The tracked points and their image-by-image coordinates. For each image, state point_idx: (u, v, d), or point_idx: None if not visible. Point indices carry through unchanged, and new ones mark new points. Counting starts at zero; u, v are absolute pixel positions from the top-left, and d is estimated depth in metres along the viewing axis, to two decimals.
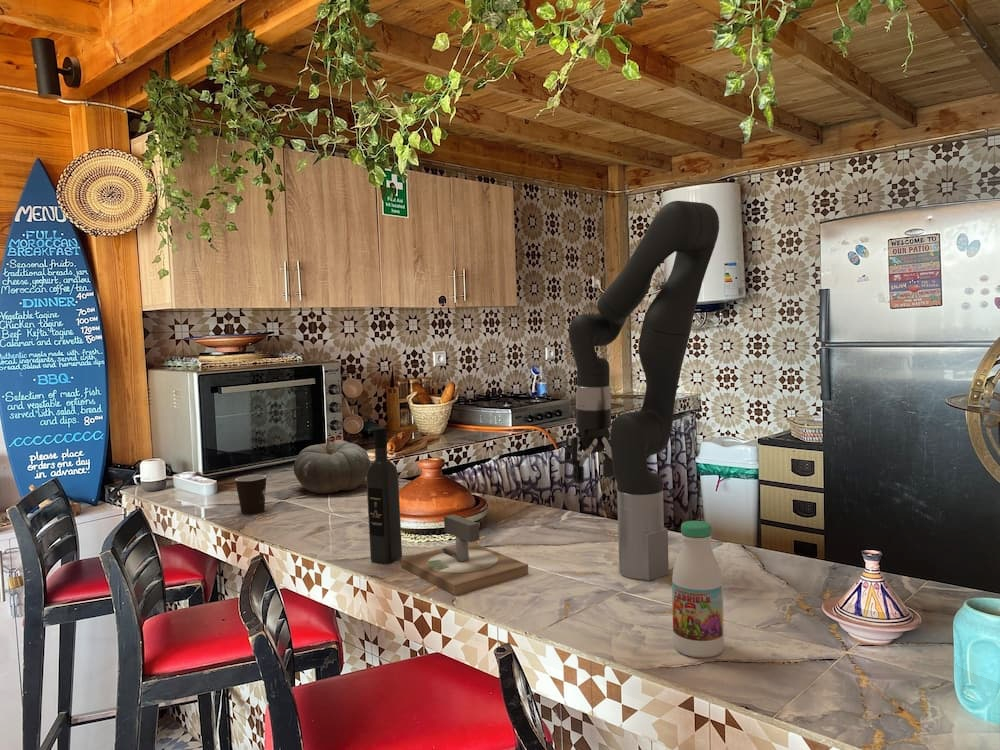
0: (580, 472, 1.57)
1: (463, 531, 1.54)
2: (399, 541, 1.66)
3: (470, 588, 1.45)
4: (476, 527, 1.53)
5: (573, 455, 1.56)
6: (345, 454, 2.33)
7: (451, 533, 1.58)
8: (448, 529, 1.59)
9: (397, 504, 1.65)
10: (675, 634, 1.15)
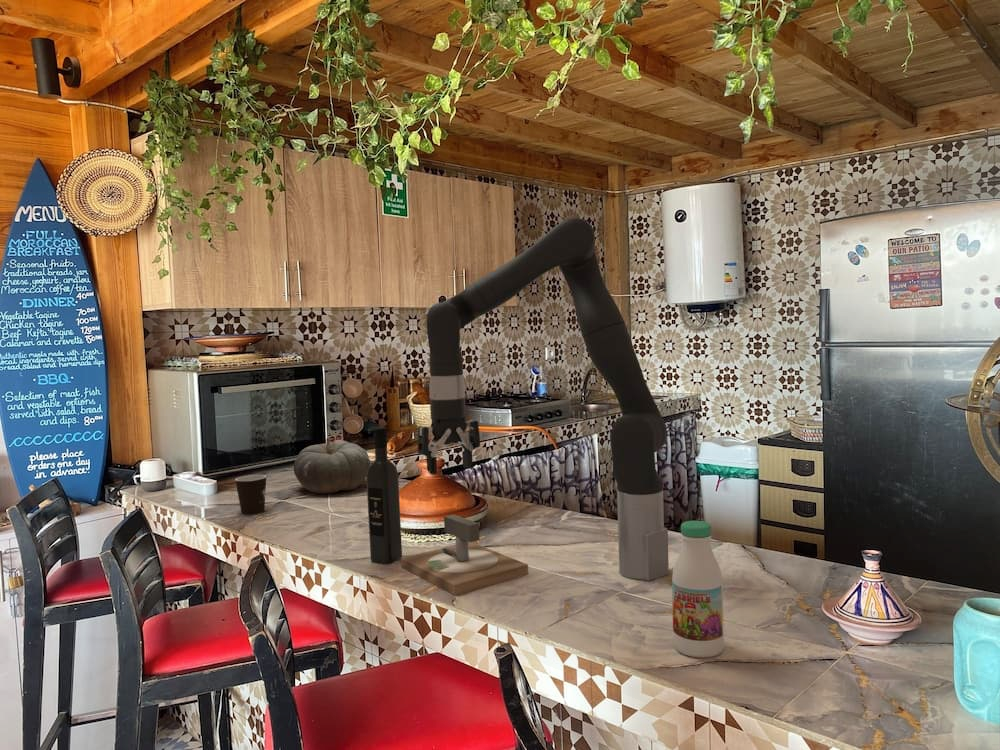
0: (433, 462, 1.55)
1: (463, 531, 1.54)
2: (399, 541, 1.66)
3: (470, 588, 1.45)
4: (476, 527, 1.53)
5: (424, 445, 1.53)
6: (345, 454, 2.33)
7: (451, 533, 1.58)
8: (448, 529, 1.59)
9: (397, 504, 1.65)
10: (675, 634, 1.15)
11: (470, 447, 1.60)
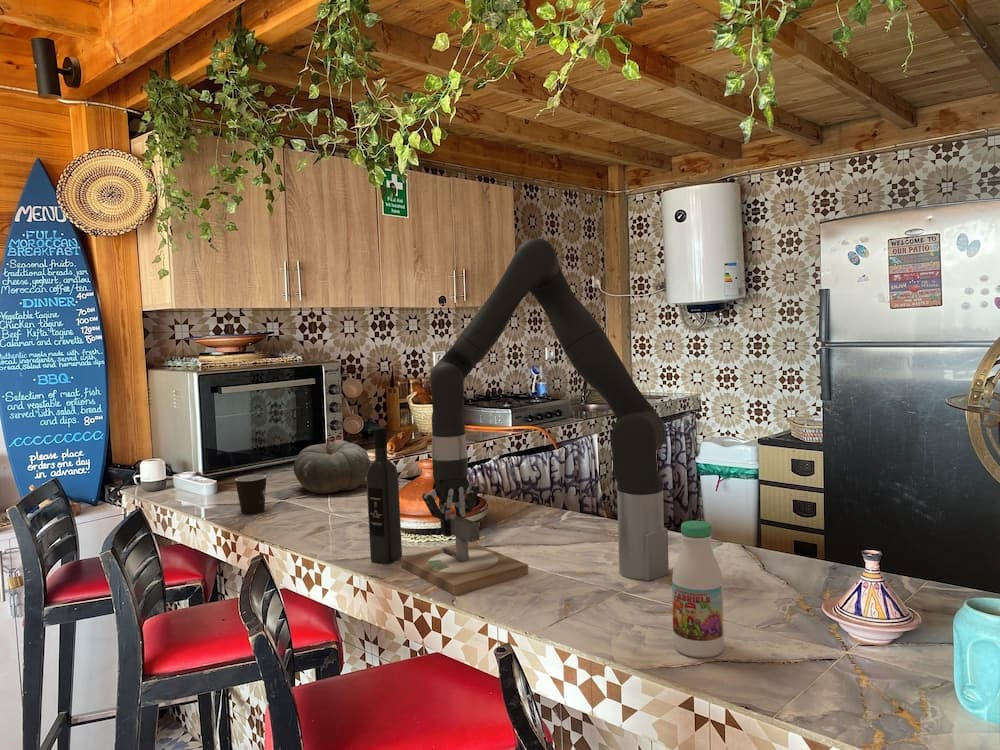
0: (447, 525, 1.57)
1: (463, 531, 1.54)
2: (399, 541, 1.66)
3: (470, 588, 1.45)
4: (476, 527, 1.53)
5: (435, 511, 1.55)
6: (345, 454, 2.33)
7: (451, 533, 1.58)
8: None
9: (397, 504, 1.65)
10: (675, 634, 1.15)
11: (462, 512, 1.59)
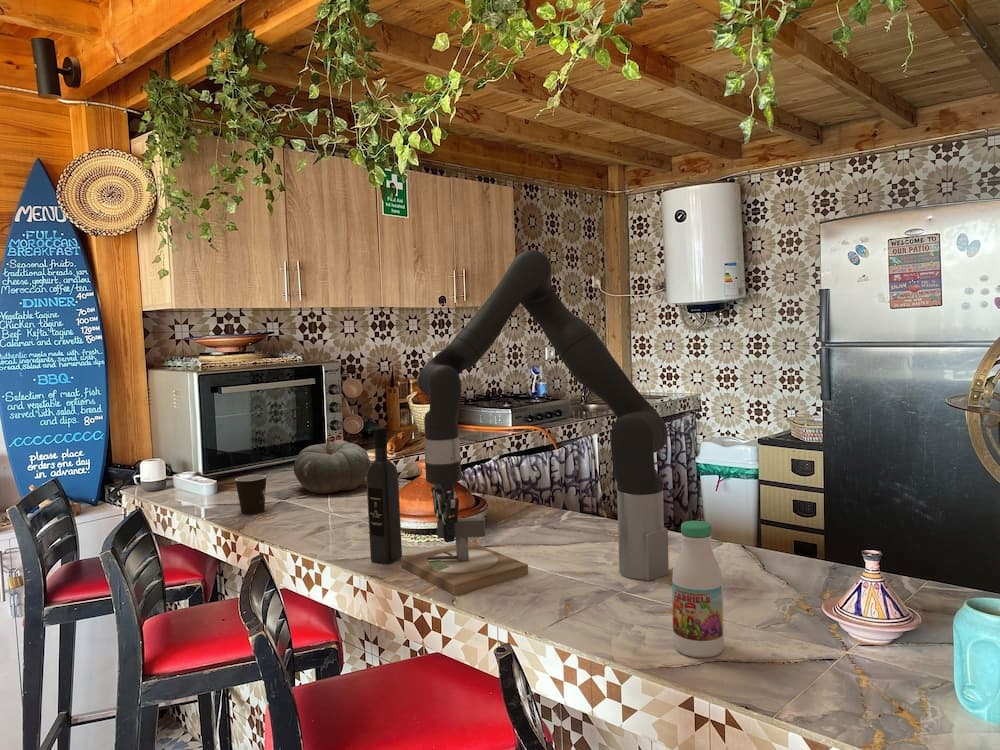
0: (453, 529, 1.54)
1: (473, 528, 1.55)
2: (399, 541, 1.66)
3: (470, 588, 1.45)
4: None
5: None
6: (345, 454, 2.33)
7: None
8: None
9: (397, 504, 1.65)
10: (675, 634, 1.15)
11: None
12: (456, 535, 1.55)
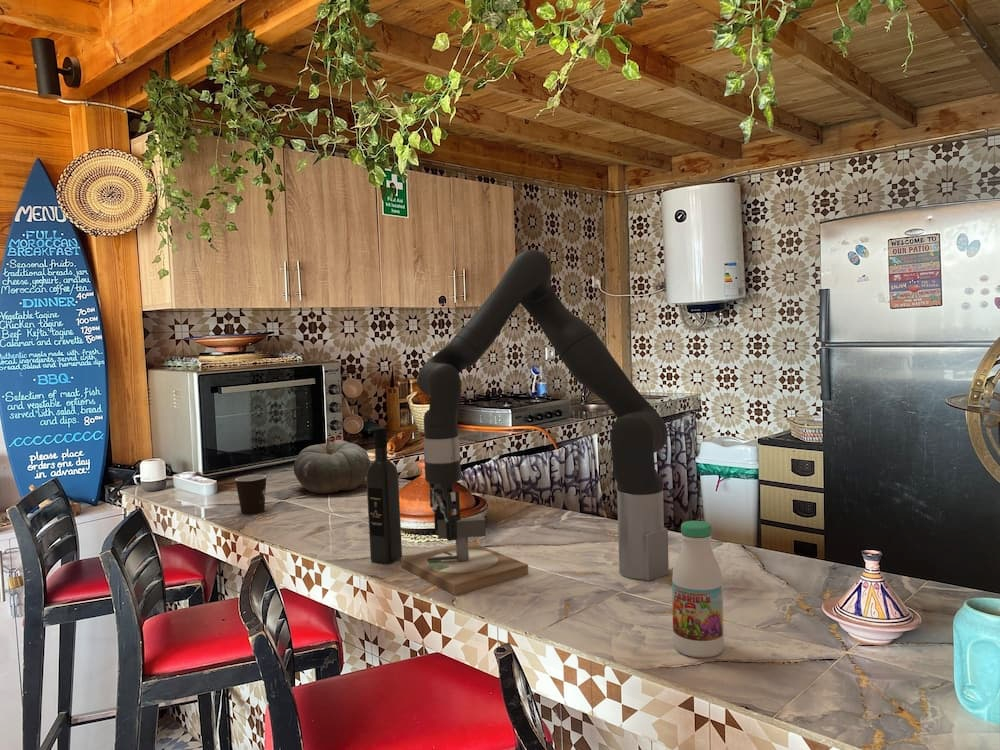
0: (455, 527, 1.51)
1: (474, 528, 1.55)
2: (399, 541, 1.66)
3: (470, 588, 1.45)
4: None
5: (459, 510, 1.49)
6: (345, 454, 2.33)
7: None
8: (445, 534, 1.55)
9: (397, 504, 1.65)
10: (675, 634, 1.15)
11: None
12: None
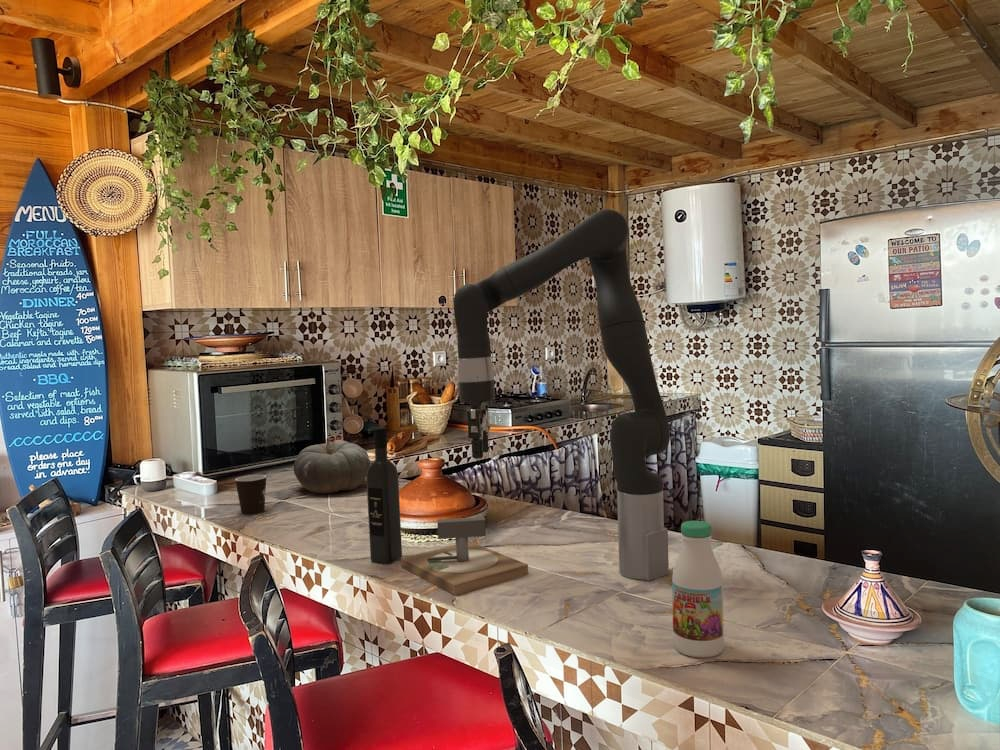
0: (480, 445, 1.52)
1: (474, 528, 1.55)
2: (399, 541, 1.66)
3: (470, 588, 1.45)
4: None
5: (479, 428, 1.50)
6: (345, 454, 2.33)
7: (451, 536, 1.55)
8: (445, 534, 1.55)
9: (397, 504, 1.65)
10: (675, 634, 1.15)
11: (488, 430, 1.61)
12: (456, 535, 1.55)
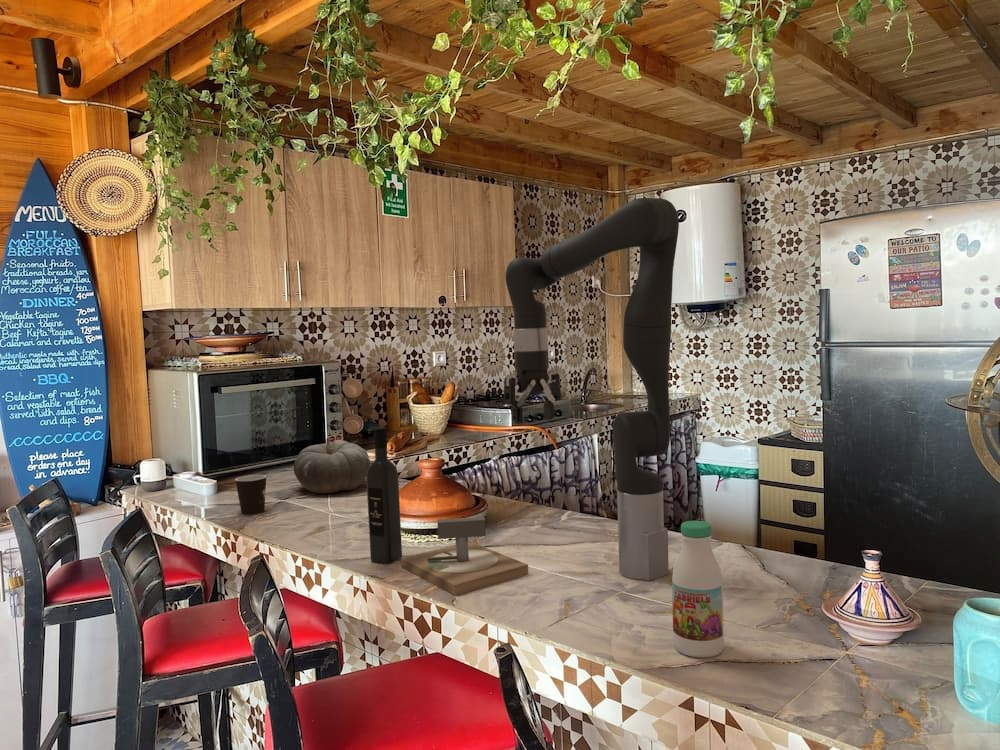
0: (519, 412, 1.61)
1: (474, 528, 1.55)
2: (399, 541, 1.66)
3: (470, 588, 1.45)
4: None
5: (511, 395, 1.59)
6: (345, 454, 2.33)
7: (451, 536, 1.55)
8: (445, 534, 1.55)
9: (397, 504, 1.65)
10: (675, 634, 1.15)
11: (552, 399, 1.66)
12: (456, 535, 1.55)
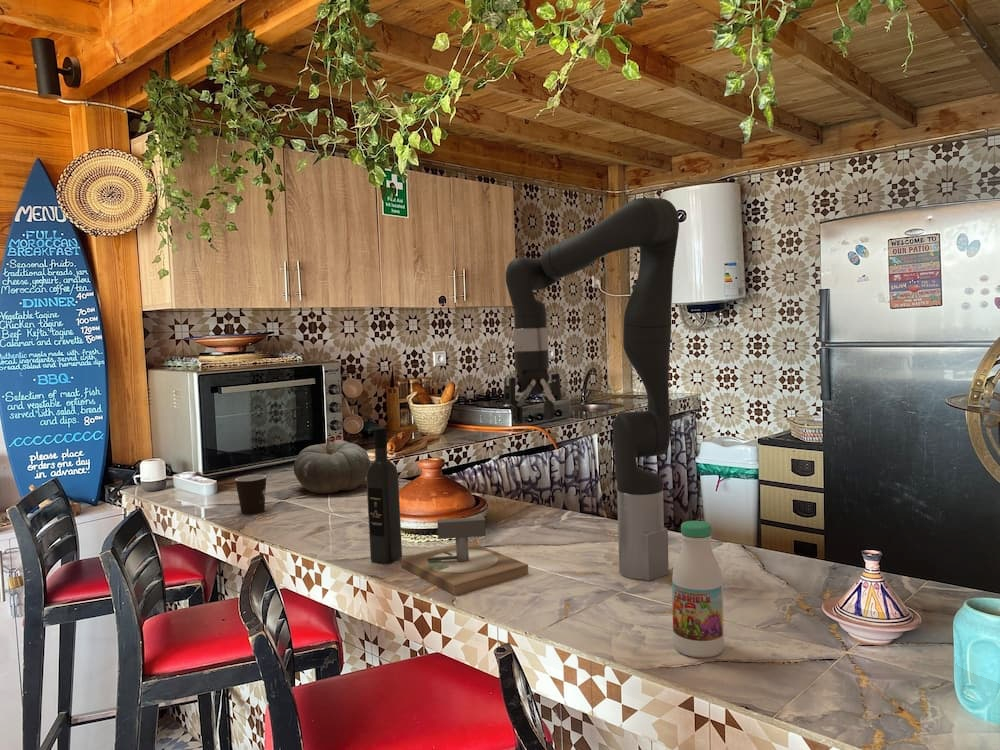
0: (519, 412, 1.61)
1: (474, 528, 1.55)
2: (399, 541, 1.66)
3: (470, 588, 1.45)
4: None
5: (511, 395, 1.59)
6: (345, 454, 2.33)
7: (451, 536, 1.55)
8: (445, 534, 1.55)
9: (397, 504, 1.65)
10: (675, 634, 1.15)
11: (552, 398, 1.66)
12: (456, 535, 1.55)
